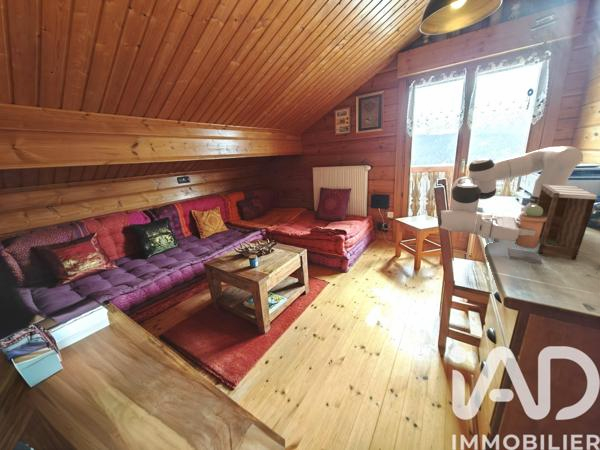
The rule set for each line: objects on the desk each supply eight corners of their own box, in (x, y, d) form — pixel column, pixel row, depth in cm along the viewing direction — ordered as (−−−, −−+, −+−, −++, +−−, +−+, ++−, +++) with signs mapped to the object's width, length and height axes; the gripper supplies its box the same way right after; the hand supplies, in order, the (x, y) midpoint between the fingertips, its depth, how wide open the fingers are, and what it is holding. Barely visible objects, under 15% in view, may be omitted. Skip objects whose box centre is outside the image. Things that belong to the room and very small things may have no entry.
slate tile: (507, 250, 94) (508, 247, 94) (537, 254, 89) (537, 252, 89) (509, 258, 87) (510, 255, 87) (541, 263, 82) (541, 261, 82)
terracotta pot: (512, 240, 92) (521, 202, 87) (537, 244, 87) (548, 204, 83) (513, 246, 86) (523, 206, 82) (540, 250, 82) (552, 208, 78)
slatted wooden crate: (528, 235, 109) (541, 184, 102) (559, 239, 103) (575, 185, 96) (537, 254, 90) (554, 192, 83) (575, 260, 84) (597, 194, 77)
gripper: (483, 225, 101) (527, 230, 93) (482, 239, 86) (535, 247, 78) (486, 211, 100) (531, 215, 92) (486, 222, 84) (540, 229, 76)
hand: (533, 230), depth 85 cm, fingers closed on terracotta pot, 6 cm apart
